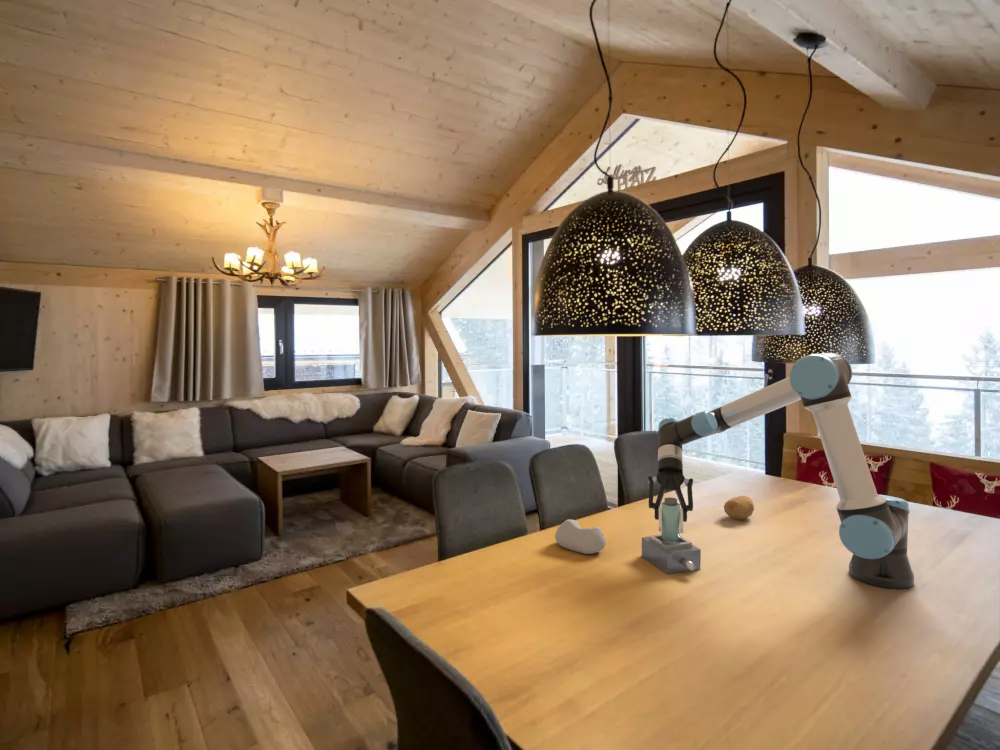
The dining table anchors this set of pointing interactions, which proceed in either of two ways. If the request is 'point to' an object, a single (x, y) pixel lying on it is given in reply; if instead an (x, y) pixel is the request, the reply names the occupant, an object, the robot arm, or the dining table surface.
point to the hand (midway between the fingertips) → (670, 529)
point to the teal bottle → (670, 520)
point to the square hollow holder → (671, 554)
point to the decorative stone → (580, 537)
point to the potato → (739, 507)
